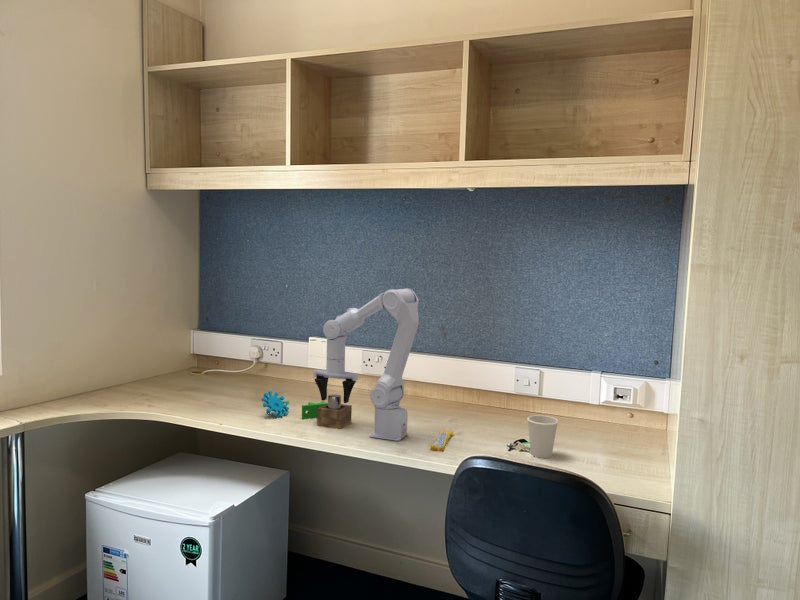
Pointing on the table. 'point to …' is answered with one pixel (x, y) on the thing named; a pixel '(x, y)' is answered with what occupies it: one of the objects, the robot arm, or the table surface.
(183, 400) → the table surface
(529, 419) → the dixie cup
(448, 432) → the candy bar
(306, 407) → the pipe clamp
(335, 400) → the peg
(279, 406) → the gear
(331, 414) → the socket
